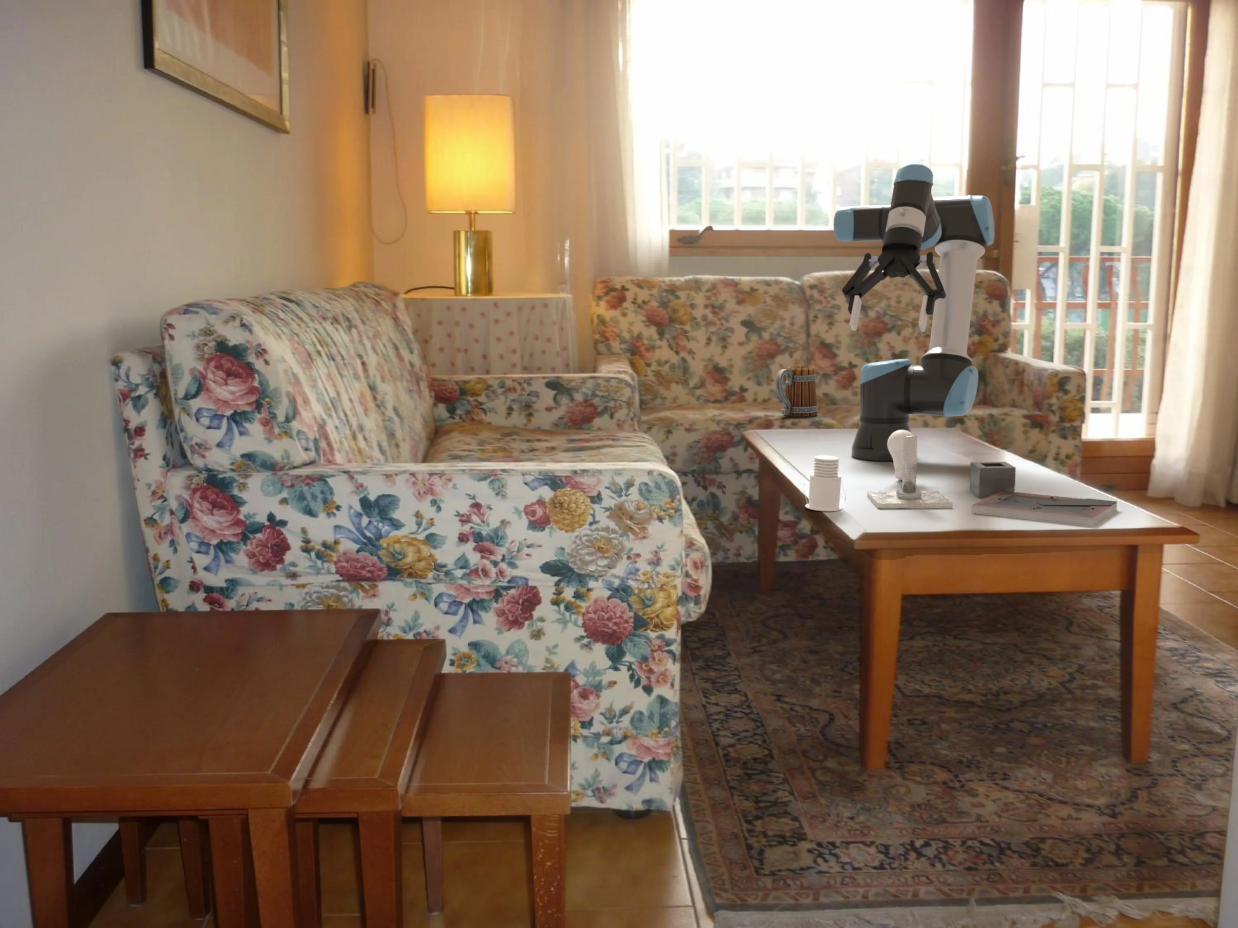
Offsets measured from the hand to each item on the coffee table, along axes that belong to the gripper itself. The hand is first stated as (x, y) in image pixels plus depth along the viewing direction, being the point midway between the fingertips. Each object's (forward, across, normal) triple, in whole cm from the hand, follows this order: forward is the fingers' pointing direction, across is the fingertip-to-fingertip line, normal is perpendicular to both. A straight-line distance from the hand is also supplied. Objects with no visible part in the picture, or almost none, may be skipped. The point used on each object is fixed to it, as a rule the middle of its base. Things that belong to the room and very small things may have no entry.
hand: (886, 328), depth 227 cm
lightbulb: (+19, -1, +34) cm, 39 cm away
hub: (+23, +19, +27) cm, 40 cm away
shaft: (+30, +6, +15) cm, 34 cm away
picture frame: (+30, +31, +16) cm, 46 cm away
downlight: (+37, -7, +5) cm, 38 cm away
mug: (-31, -59, +114) cm, 132 cm away
